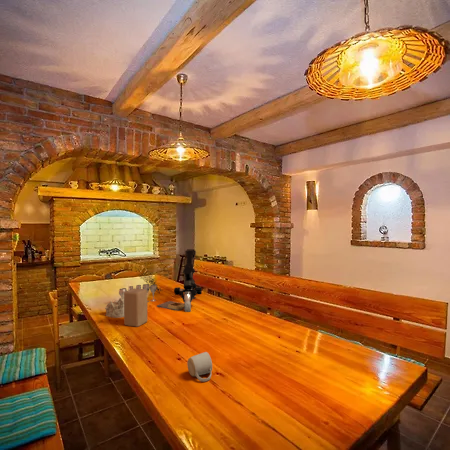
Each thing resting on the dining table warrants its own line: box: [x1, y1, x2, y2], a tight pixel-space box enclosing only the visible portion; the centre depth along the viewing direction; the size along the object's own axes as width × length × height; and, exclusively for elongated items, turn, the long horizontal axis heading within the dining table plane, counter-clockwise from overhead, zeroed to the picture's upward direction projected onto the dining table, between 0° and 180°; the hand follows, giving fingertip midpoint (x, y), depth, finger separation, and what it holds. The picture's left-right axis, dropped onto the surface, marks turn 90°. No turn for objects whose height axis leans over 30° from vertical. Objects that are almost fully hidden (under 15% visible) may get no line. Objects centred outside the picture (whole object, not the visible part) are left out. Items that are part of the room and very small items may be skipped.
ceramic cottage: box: [105, 294, 124, 319], centre depth 192 cm, size 16×16×15 cm
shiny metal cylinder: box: [183, 291, 192, 313], centre depth 197 cm, size 4×4×13 cm
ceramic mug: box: [186, 351, 213, 383], centre depth 114 cm, size 11×8×8 cm
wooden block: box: [123, 287, 148, 328], centre depth 173 cm, size 10×10×20 cm
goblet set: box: [118, 283, 157, 303], centre depth 218 cm, size 28×6×13 cm, turn 123°
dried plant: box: [127, 259, 163, 294], centre depth 248 cm, size 30×31×45 cm
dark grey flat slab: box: [156, 300, 184, 312], centre depth 209 cm, size 14×20×3 cm
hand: (187, 301), depth 196 cm, fingers closed on shiny metal cylinder, 4 cm apart
